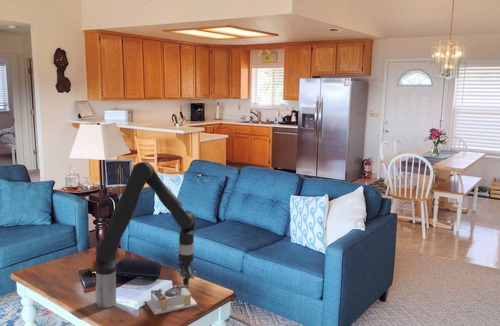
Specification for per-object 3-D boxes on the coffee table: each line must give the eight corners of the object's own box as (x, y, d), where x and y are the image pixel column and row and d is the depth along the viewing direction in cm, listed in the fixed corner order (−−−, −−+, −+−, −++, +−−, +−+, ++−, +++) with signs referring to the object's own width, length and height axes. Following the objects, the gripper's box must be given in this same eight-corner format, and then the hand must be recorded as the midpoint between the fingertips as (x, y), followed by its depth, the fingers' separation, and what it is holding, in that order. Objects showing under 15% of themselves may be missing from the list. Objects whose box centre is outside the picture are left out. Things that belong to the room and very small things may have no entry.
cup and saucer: (88, 269, 262) (88, 259, 261) (109, 266, 267) (109, 256, 266) (90, 277, 252) (90, 267, 250) (112, 274, 257) (112, 264, 255)
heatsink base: (154, 314, 215) (154, 302, 214) (145, 301, 228) (145, 289, 226) (197, 305, 226) (197, 293, 225) (185, 292, 239) (186, 281, 237)
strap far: (184, 288, 223) (183, 285, 223) (176, 288, 233) (176, 284, 233) (188, 287, 224) (188, 284, 224) (180, 287, 234) (180, 284, 234)
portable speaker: (163, 275, 259) (163, 258, 257) (158, 282, 249) (158, 265, 248) (121, 271, 261) (121, 255, 259) (114, 278, 251) (114, 262, 250)
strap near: (161, 301, 217) (161, 298, 217) (153, 292, 227) (153, 289, 227) (166, 300, 218) (166, 297, 218) (158, 291, 228) (158, 288, 228)
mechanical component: (195, 290, 242) (195, 272, 241) (177, 287, 244) (177, 270, 243) (196, 287, 245) (197, 270, 243) (179, 285, 247) (179, 268, 245)
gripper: (174, 248, 225) (173, 280, 228) (184, 257, 214) (183, 291, 217) (188, 246, 229) (187, 278, 232) (198, 255, 218) (197, 288, 221)
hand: (185, 284), depth 225 cm, fingers closed
